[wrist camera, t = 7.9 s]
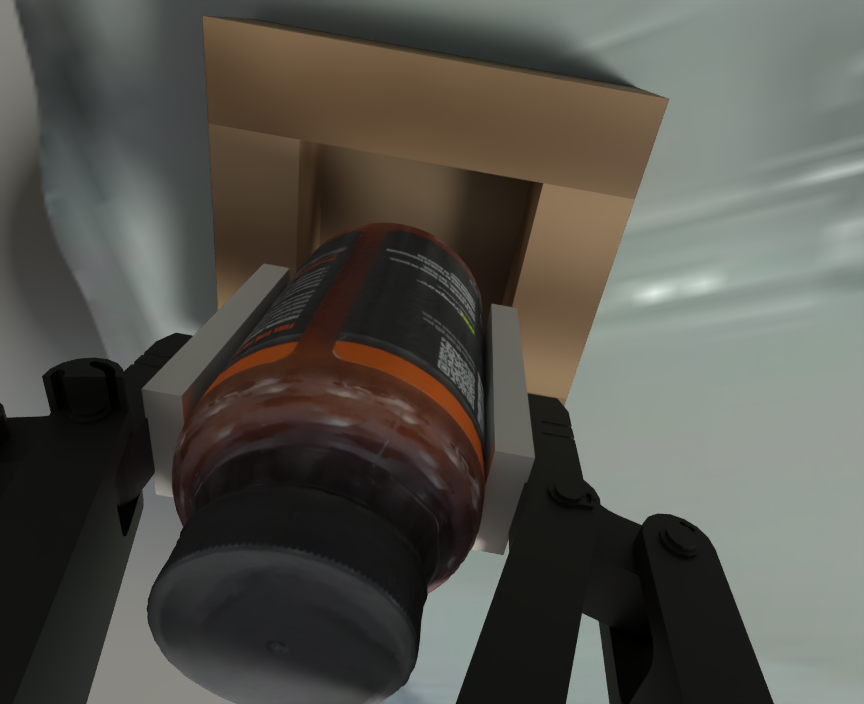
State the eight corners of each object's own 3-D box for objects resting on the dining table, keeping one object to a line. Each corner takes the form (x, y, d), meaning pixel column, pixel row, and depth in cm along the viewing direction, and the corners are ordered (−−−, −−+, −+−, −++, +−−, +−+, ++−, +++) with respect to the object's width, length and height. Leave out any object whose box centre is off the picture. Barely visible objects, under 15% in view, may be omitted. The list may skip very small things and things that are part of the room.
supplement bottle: (279, 345, 19) (50, 685, 9) (332, 182, 16) (78, 420, 6) (440, 409, 19) (392, 788, 10) (519, 265, 16) (566, 597, 7)
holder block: (252, 19, 20) (202, 15, 16) (637, 87, 20) (669, 99, 16) (256, 350, 27) (222, 397, 23) (539, 401, 27) (547, 455, 23)
